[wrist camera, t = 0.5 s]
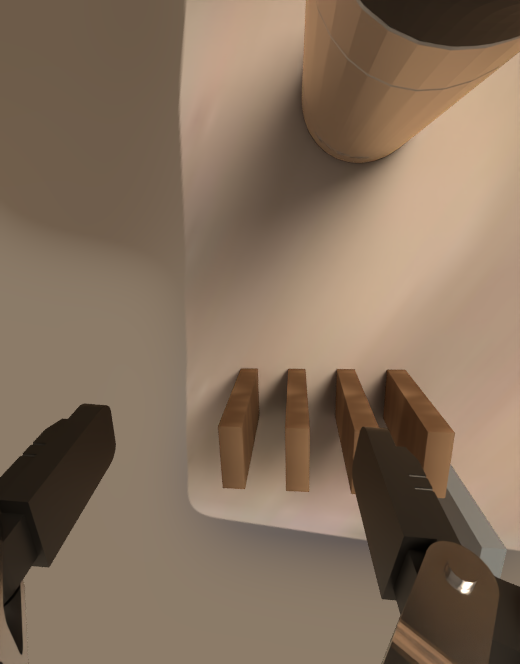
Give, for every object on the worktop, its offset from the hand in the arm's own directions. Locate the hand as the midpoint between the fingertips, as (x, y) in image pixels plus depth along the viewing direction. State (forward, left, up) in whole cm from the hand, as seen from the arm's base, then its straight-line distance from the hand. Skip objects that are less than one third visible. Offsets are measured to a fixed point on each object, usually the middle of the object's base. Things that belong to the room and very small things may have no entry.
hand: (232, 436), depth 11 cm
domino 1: (+9, +1, -20) cm, 22 cm away
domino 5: (+9, +22, -20) cm, 31 cm away
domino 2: (+7, +6, -20) cm, 22 cm away
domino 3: (+5, +10, -20) cm, 23 cm away
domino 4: (+3, +14, -20) cm, 25 cm away
